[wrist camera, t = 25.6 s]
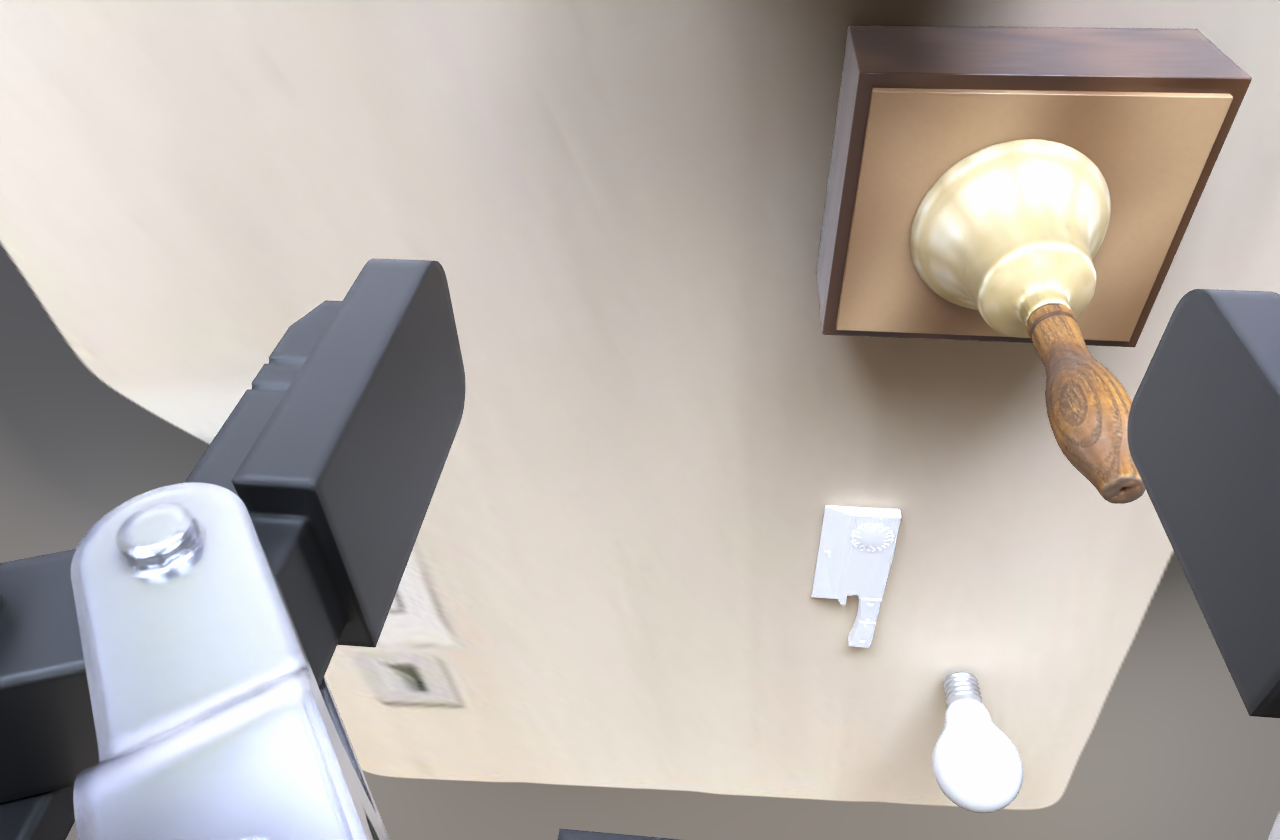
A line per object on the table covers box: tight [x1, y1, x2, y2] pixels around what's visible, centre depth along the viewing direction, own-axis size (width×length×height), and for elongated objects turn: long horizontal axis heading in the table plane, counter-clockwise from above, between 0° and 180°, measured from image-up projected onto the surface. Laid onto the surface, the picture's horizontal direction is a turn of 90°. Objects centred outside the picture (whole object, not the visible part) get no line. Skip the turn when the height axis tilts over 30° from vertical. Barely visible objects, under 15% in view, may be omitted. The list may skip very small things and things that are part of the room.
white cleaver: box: [812, 505, 902, 648], centre depth 64 cm, size 5×15×1 cm, turn 1°
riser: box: [816, 26, 1252, 347], centre depth 41 cm, size 15×13×6 cm
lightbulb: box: [932, 672, 1023, 813], centre depth 68 cm, size 6×6×11 cm
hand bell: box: [910, 139, 1146, 504], centre depth 33 cm, size 8×8×16 cm
